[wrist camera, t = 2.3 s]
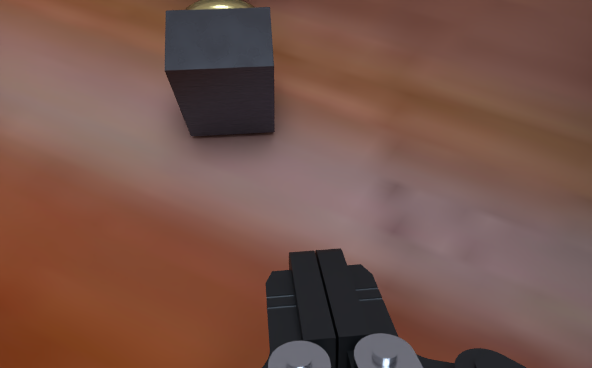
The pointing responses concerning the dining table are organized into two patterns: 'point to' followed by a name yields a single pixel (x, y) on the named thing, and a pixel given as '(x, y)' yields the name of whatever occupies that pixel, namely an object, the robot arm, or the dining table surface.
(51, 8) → the dining table surface
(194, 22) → the dark boxy piece
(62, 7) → the dining table surface
